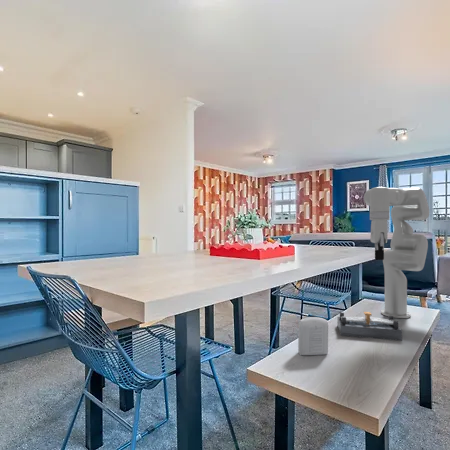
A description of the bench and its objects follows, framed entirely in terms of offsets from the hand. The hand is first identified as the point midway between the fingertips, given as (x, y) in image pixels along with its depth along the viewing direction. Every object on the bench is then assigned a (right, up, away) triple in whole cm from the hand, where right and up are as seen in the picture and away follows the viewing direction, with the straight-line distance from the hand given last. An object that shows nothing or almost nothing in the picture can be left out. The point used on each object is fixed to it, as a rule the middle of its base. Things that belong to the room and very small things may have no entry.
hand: (379, 259), depth 133 cm
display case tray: (-8, -29, -6) cm, 31 cm away
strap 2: (-2, -25, -7) cm, 26 cm away
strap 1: (-13, -25, -5) cm, 28 cm away
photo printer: (-36, -30, -26) cm, 53 cm away
